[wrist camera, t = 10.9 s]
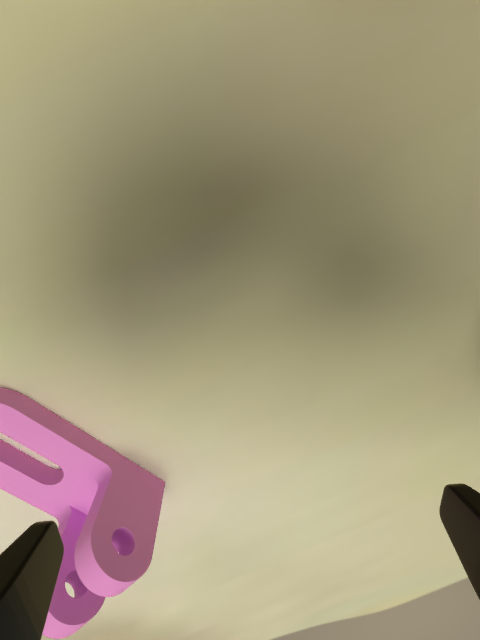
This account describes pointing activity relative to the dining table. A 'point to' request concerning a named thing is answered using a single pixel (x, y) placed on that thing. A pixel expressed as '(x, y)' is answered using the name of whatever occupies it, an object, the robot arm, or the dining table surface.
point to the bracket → (80, 507)
